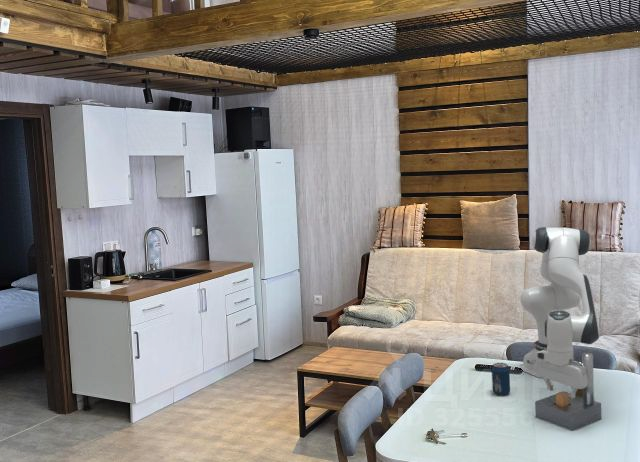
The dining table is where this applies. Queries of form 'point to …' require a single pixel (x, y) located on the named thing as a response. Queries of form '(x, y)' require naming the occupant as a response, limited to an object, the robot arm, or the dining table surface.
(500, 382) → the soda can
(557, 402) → the orange brown rectangular block
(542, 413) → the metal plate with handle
